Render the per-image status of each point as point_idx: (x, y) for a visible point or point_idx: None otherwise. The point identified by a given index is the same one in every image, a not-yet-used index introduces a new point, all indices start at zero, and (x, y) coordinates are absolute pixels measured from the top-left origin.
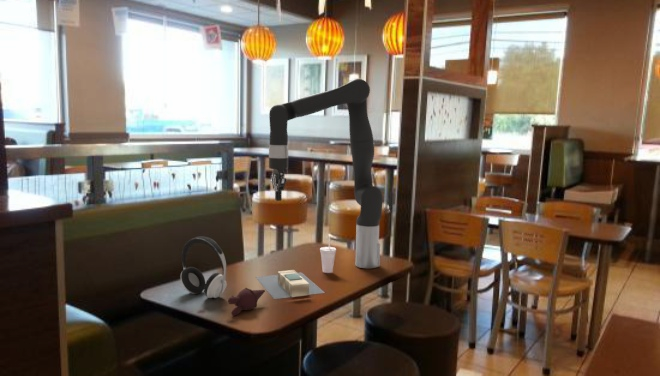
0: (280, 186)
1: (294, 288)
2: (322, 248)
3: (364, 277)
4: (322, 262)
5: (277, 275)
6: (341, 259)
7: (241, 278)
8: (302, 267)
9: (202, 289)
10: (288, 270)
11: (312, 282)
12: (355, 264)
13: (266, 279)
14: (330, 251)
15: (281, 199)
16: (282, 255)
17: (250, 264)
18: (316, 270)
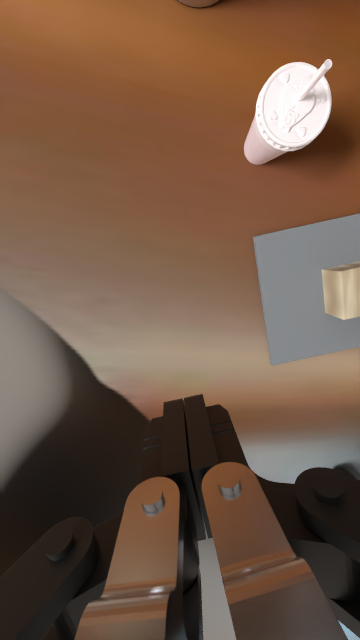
0: (222, 566)
1: None
2: (283, 132)
3: (331, 16)
4: (279, 155)
5: (269, 309)
6: (104, 48)
7: (260, 395)
8: (189, 223)
9: (350, 473)
10: (343, 288)
11: (352, 217)
12: (194, 4)
13: (296, 339)
14: (327, 102)
15: (202, 395)
16: (45, 274)
17: (141, 373)
18: (227, 181)
